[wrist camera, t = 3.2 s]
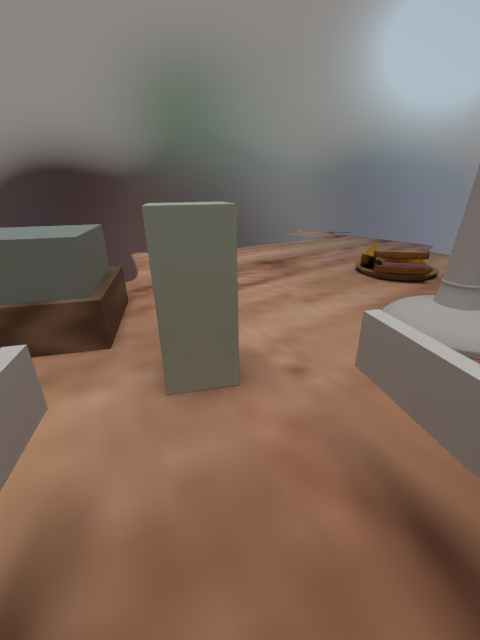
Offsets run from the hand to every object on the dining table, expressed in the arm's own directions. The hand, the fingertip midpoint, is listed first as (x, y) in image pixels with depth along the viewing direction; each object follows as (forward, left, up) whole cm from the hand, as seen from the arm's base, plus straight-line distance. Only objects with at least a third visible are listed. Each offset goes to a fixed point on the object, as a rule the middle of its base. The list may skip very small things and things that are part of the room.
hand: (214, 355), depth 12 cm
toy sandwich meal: (+35, +32, -7) cm, 48 cm away
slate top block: (-14, +21, -2) cm, 25 cm away
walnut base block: (-14, +21, -7) cm, 26 cm away
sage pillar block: (0, +9, -6) cm, 11 cm away
